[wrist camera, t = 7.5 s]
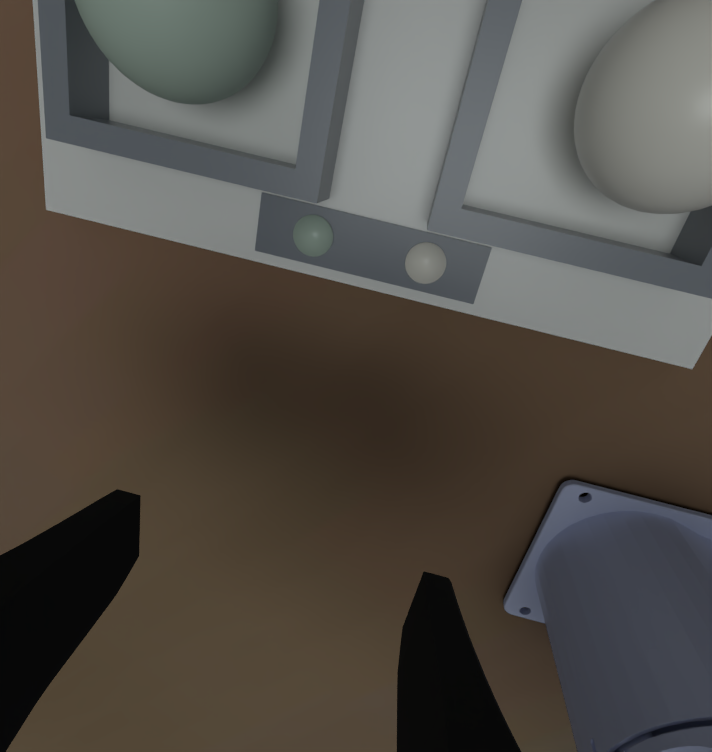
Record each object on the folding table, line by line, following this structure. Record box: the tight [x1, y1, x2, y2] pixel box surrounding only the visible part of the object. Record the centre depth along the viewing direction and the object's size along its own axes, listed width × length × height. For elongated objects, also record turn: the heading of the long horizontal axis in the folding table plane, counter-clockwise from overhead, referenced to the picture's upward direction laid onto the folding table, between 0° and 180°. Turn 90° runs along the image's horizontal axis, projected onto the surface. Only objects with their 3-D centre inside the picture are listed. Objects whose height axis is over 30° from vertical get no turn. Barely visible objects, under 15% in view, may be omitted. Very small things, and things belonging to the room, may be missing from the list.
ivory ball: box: [574, 0, 712, 214], centre depth 12 cm, size 5×5×5 cm
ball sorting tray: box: [33, 0, 712, 369], centre depth 14 cm, size 24×14×3 cm, turn 78°
